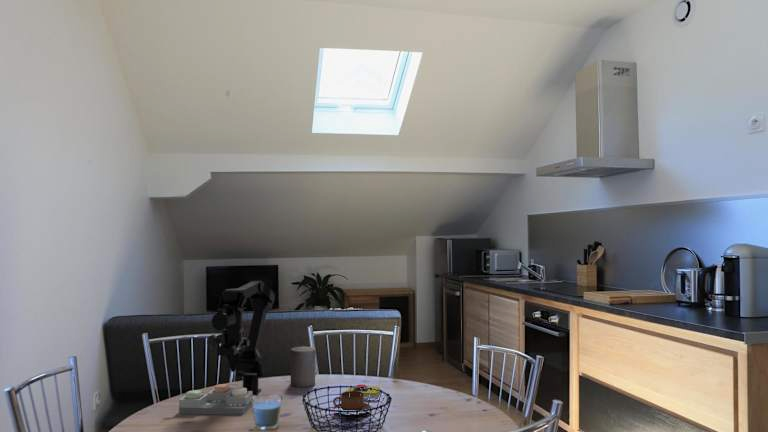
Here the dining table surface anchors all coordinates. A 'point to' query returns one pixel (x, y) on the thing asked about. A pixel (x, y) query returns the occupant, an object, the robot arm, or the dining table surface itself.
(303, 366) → the pillar candle
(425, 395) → the dining table surface
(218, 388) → the terracotta button
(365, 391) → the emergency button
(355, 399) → the cup and saucer
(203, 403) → the button panel
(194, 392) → the sage button
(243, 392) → the cream button
